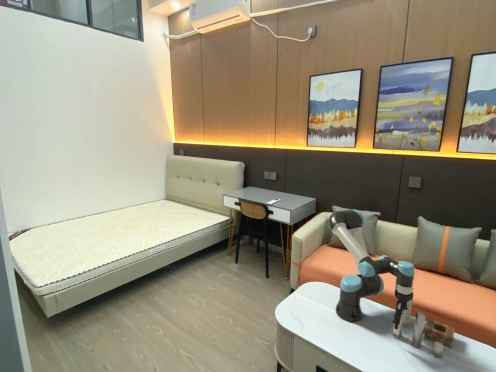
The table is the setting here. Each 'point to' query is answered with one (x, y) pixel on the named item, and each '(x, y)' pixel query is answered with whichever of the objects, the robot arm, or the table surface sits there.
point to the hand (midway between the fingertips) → (398, 326)
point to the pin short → (438, 349)
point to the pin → (400, 328)
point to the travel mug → (408, 311)
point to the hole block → (439, 332)
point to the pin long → (418, 330)
